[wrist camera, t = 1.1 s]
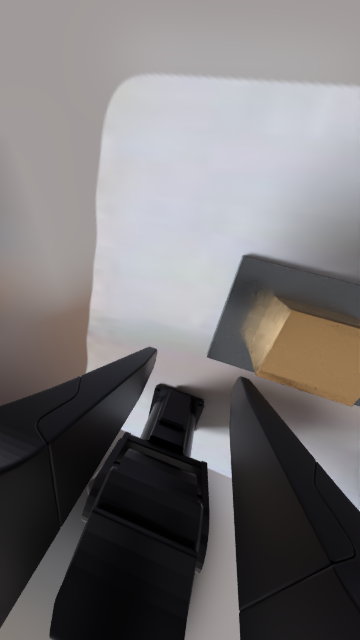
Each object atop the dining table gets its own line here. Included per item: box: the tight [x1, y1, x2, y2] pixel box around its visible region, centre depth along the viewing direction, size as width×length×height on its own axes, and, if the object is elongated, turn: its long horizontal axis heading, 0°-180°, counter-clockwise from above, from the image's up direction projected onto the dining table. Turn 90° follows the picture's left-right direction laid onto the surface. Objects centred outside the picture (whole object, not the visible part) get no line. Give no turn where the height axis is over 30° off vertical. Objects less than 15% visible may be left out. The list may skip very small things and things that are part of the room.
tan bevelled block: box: [248, 296, 360, 406], centre depth 14 cm, size 6×7×4 cm
